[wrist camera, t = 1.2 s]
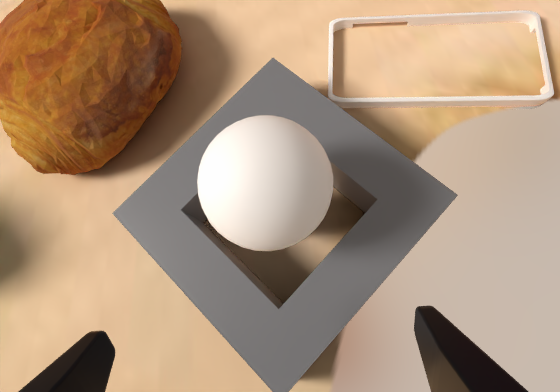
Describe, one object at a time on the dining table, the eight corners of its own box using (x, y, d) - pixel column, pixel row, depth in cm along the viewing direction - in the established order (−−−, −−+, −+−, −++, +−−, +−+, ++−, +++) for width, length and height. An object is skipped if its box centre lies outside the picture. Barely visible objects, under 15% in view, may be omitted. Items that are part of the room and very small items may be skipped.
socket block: (433, 211, 22) (457, 195, 18) (287, 379, 20) (280, 400, 16) (279, 92, 26) (272, 57, 22) (145, 225, 24) (112, 213, 20)
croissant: (226, 75, 29) (207, -11, 22) (95, 213, 25) (15, 164, 17) (109, 7, 33) (58, -88, 25) (-27, 119, 28) (-139, 43, 21)
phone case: (327, 111, 25) (543, 109, 24) (328, 101, 24) (556, 99, 22) (328, 30, 27) (528, 23, 26) (329, 17, 26) (539, 9, 24)
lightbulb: (226, 246, 23) (147, 209, 12) (258, 166, 24) (211, 71, 14) (311, 277, 22) (304, 265, 11) (339, 191, 23) (357, 108, 13)
